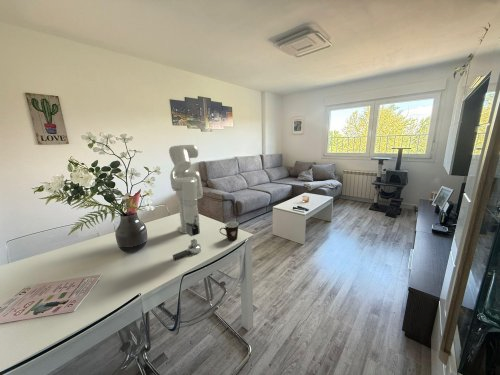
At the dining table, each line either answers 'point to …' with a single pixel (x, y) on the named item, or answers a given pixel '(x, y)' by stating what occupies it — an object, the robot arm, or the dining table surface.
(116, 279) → the dining table surface
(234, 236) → the coffee mug
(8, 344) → the dining table surface
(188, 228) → the socket
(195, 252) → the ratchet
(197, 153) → the robot arm
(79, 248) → the dining table surface
